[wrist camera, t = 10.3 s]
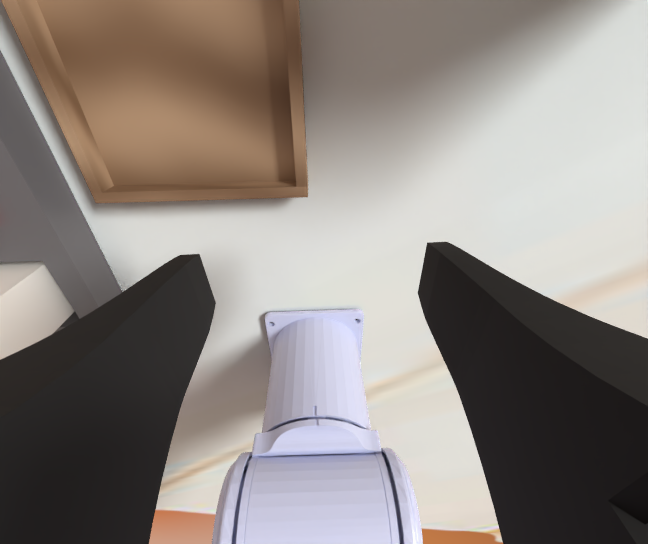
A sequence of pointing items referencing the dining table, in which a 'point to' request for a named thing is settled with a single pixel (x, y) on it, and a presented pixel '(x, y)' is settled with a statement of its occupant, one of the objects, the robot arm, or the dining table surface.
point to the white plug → (29, 305)
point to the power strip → (45, 210)
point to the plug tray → (173, 94)
